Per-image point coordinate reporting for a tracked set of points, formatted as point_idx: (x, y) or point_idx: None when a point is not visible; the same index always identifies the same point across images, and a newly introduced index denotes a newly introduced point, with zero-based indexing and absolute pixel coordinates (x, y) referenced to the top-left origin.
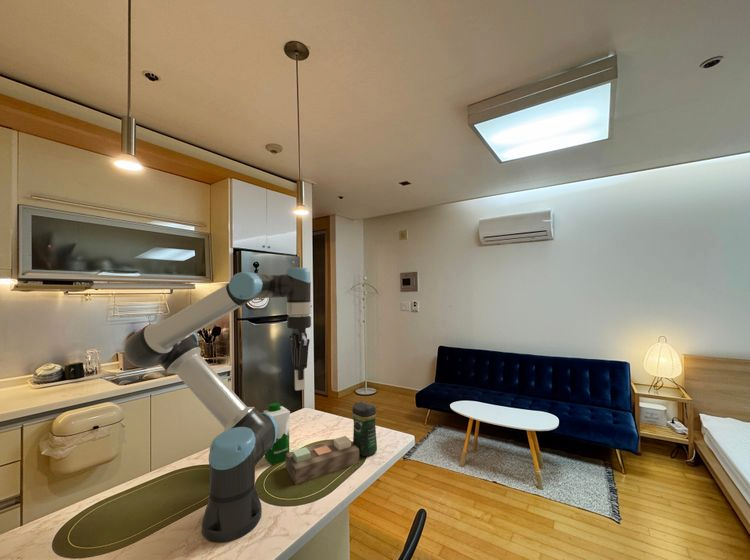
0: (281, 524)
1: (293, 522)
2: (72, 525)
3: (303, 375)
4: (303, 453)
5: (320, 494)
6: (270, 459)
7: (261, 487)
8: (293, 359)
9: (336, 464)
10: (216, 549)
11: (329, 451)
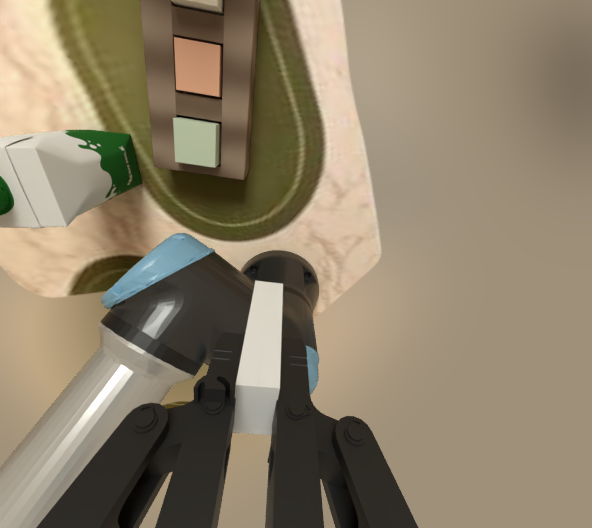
0: (335, 237)
1: (344, 222)
2: (168, 404)
3: (307, 363)
4: (207, 144)
5: (313, 147)
6: (132, 187)
7: (217, 228)
8: (142, 514)
9: (254, 53)
10: (316, 310)
11: (219, 54)
